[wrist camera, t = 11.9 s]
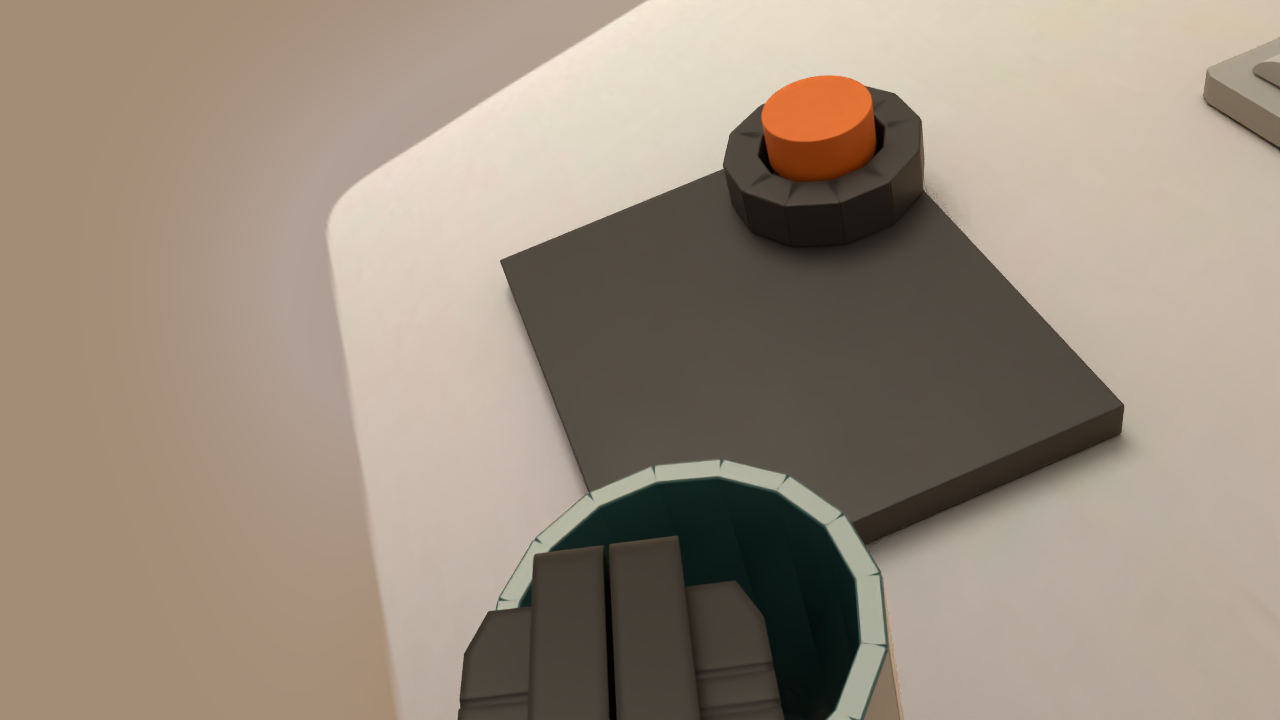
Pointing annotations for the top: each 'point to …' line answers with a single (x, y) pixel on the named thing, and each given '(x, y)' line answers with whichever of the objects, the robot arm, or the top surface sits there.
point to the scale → (805, 337)
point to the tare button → (819, 128)
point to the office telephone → (1249, 89)
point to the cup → (756, 573)
